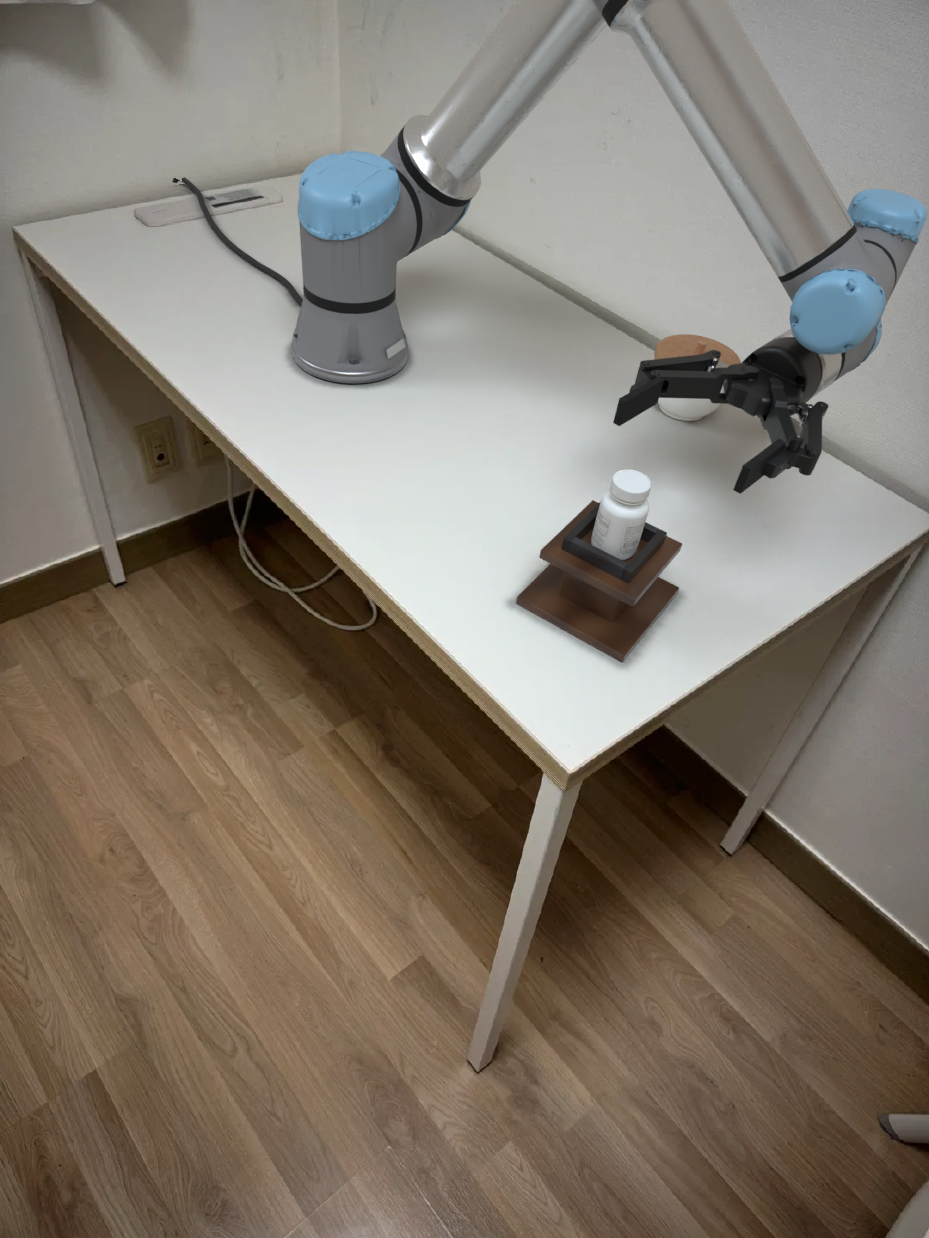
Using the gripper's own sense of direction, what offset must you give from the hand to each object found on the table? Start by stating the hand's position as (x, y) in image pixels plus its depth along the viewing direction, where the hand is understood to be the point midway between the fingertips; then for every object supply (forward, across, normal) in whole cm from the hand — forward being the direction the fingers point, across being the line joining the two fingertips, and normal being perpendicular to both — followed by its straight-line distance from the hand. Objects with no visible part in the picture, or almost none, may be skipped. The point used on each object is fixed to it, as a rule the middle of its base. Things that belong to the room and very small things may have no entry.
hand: (677, 445), depth 77 cm
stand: (+7, 0, -15) cm, 17 cm away
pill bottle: (+7, 0, -8) cm, 11 cm away
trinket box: (-30, +14, -15) cm, 37 cm away
